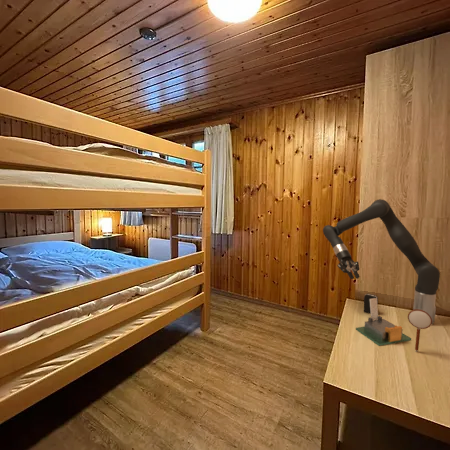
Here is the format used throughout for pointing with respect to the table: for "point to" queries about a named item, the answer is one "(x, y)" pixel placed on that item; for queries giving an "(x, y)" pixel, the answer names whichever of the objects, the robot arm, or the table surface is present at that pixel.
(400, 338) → the circuit board
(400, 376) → the table surface
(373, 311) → the light grey flat bar
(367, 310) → the battery
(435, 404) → the table surface
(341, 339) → the table surface
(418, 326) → the magnifying glass
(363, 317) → the table surface
